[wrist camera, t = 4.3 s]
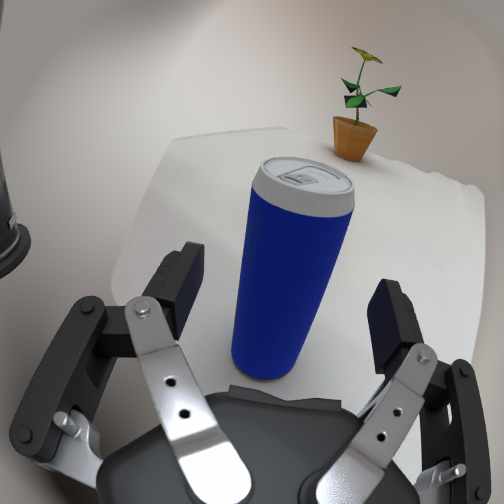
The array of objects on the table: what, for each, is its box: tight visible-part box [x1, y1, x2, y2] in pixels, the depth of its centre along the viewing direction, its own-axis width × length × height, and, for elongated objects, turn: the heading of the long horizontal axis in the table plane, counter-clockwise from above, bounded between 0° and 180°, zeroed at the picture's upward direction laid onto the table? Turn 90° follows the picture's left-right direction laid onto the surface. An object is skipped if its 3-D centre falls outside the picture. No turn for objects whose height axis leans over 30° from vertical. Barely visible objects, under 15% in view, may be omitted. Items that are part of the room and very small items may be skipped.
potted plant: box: [333, 47, 401, 162], centre depth 65 cm, size 18×19×30 cm
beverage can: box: [231, 157, 355, 379], centre depth 18 cm, size 5×5×15 cm
